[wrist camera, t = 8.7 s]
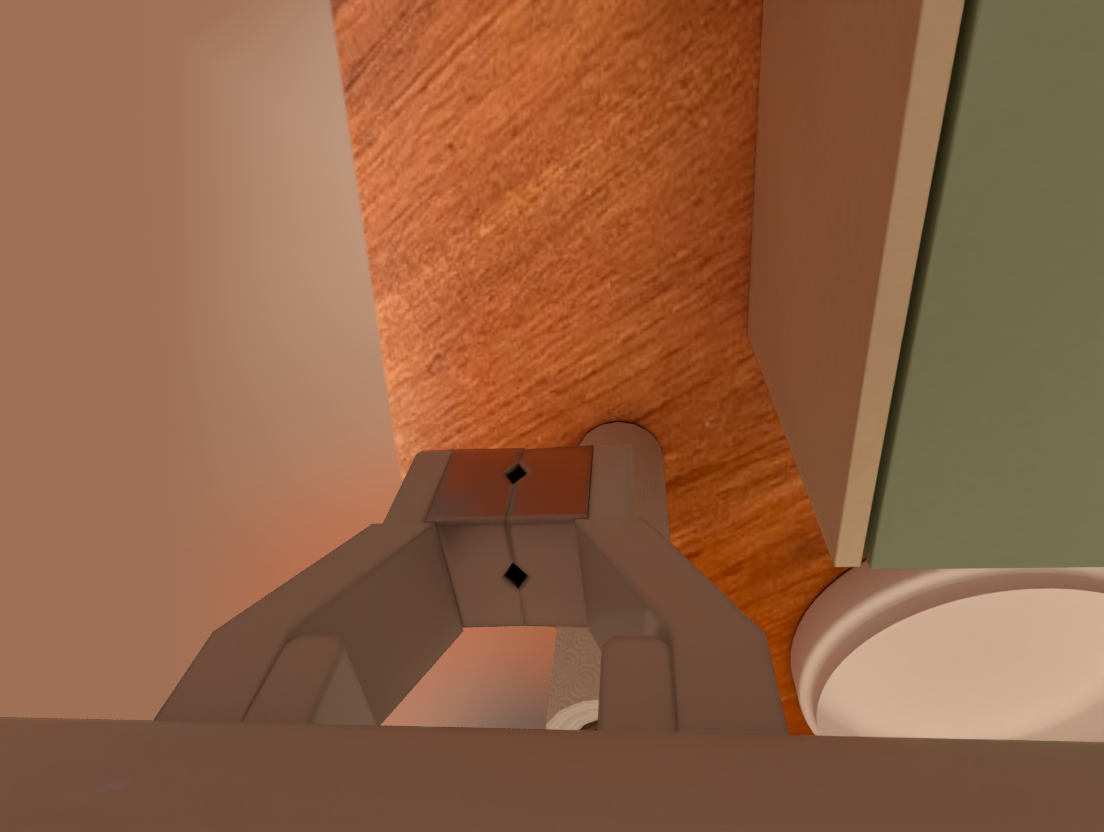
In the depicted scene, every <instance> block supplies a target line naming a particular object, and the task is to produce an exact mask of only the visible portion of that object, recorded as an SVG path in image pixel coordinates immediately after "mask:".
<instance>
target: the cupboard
mask: <svg viewBox="0 0 1104 832" xmlns="http://www.w3.org/2000/svg"><path fill="white" fill-rule="evenodd" d="M863 553H864V556H865V558H866V560H867V562H868V565H869V567H870V569H872V570H880V569H973V568H1067V567H1104V0H965V2H964V8H963V13H962V19H961V24H960V29H959V35H958V40H957V46H956V51H955V56H954V62H953V67H952V73H951V78H950V84H949V89H948V94H947V100H946V105H945V111H944V116H943V122H942V127H941V132H940V138H939V143H938V149H937V154H936V159H935V165H934V170H933V176H932V181H931V187H930V192H929V197H928V203H927V208H926V214H925V219H924V225H923V230H922V235H921V241H920V246H919V252H918V257H917V262H916V268H915V273H914V279H913V284H912V290H911V295H910V300H909V306H908V311H907V317H906V322H905V328H904V333H903V338H902V344H901V349H900V355H899V360H898V365H897V371H896V376H895V382H894V387H893V393H892V398H891V403H890V409H889V414H888V420H887V425H886V431H885V436H884V441H883V447H882V452H881V458H880V463H879V468H878V474H877V479H876V485H875V490H874V496H873V501H872V506H871V512H870V517H869V523H868V528H867V534H866V539H865V544H864V550H863Z"/></svg>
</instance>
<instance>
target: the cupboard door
mask: <svg viewBox="0 0 1104 832" xmlns="http://www.w3.org/2000/svg"><path fill="white" fill-rule="evenodd" d="M964 2H965V0H763V14H762V35H761V56H760V77H759V98H758V118H757V139H756V160H755V181H754V201H753V222H752V243H751V264H750V285H749V305H748V326H747V335H748V338H749V340H750V343H751V346H752V348H753V351H754V354H755V356H756V359H757V362H758V364H759V367H760V370H761V372H762V375H763V378H764V380H765V383H766V386H767V388H768V391H769V394H770V396H771V399H772V402H773V404H774V407H775V410H776V412H777V415H778V418H779V420H780V423H781V426H782V428H783V431H784V433H785V436H786V439H787V441H788V444H789V447H790V449H791V452H792V455H793V457H794V460H795V463H796V465H797V468H798V471H799V473H800V476H801V479H802V481H803V484H804V487H805V489H806V492H807V495H808V497H809V500H810V503H811V505H812V508H813V511H814V513H815V516H816V519H817V521H818V524H819V527H820V529H821V532H822V535H823V537H824V540H825V543H826V545H827V548H828V551H829V553H830V556H831V559H832V561H833V564H834V566H835V567H860V566H861V561H862V555H863V550H864V544H865V539H866V534H867V528H868V523H869V517H870V512H871V506H872V501H873V496H874V490H875V485H876V479H877V474H878V468H879V463H880V458H881V452H882V447H883V441H884V436H885V431H886V425H887V420H888V414H889V409H890V403H891V398H892V393H893V387H894V382H895V376H896V371H897V365H898V360H899V355H900V349H901V344H902V338H903V333H904V328H905V322H906V317H907V311H908V306H909V300H910V295H911V290H912V284H913V279H914V273H915V268H916V262H917V257H918V252H919V246H920V241H921V235H922V230H923V225H924V219H925V214H926V208H927V203H928V197H929V192H930V187H931V181H932V176H933V170H934V165H935V159H936V154H937V149H938V143H939V138H940V132H941V127H942V122H943V116H944V111H945V105H946V100H947V94H948V89H949V84H950V78H951V73H952V67H953V62H954V56H955V51H956V46H957V40H958V35H959V29H960V24H961V19H962V13H963V8H964Z"/></svg>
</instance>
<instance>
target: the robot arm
mask: <svg viewBox="0 0 1104 832" xmlns="http://www.w3.org/2000/svg"><path fill="white" fill-rule="evenodd" d="M525 625H526V626H552V627H588V630H589V632H590V634H591V635H592V637H593V639H594V640H595V642H596V643H597V645H598V647H599V648H600V650H601V670H600V689H599V707H598V725H597V730H555V729H510V728H465V727H421V726H380V725H381V724H382V723H383V722H384V720H385V719H386V718H387V717H388V716H389V715H390V713H392V711H393V710H394V709H395V708H396V707H397V706H398V705H399V703H400V702H401V701H402V700H403V699H404V697H406V695H407V694H408V693H409V692H410V691H411V690H412V689H413V688H414V686H415V685H416V684H417V683H418V682H419V681H420V680H421V678H422V677H423V676H424V675H425V674H426V673H427V672H428V670H429V669H430V668H431V667H432V666H433V665H434V664H435V663H436V661H437V660H438V659H439V658H440V657H441V656H442V655H443V653H444V652H445V651H446V650H447V649H448V648H449V647H450V646H451V644H452V643H453V642H454V641H455V640H456V638H458V636H459V635H460V634H461V633H462V632H463V628H462V627H496V626H497V627H498V626H525ZM0 832H1104V742H1086V741H1041V740H996V739H952V738H907V737H862V736H817V735H789V734H788V729H787V725H786V721H785V716H784V712H783V708H782V703H781V699H780V695H779V690H778V686H777V682H776V677H775V673H774V668H773V664H772V660H771V655H770V651H769V647H768V642H767V638H766V634H765V633H764V632H763V631H762V630H761V629H760V628H759V627H758V626H757V625H756V624H755V623H754V622H753V621H752V620H751V619H750V618H749V617H748V616H746V615H745V614H744V613H743V612H742V611H741V610H740V609H739V608H738V607H737V606H736V605H735V604H734V603H733V602H732V601H731V600H730V599H729V598H728V597H727V596H726V595H725V594H724V593H722V592H721V591H720V590H719V589H718V588H717V587H716V586H715V585H714V584H713V583H712V582H711V581H710V580H709V579H708V578H707V577H706V576H705V575H704V574H703V573H702V572H701V571H699V570H698V569H697V568H696V567H695V566H694V565H693V564H692V563H691V562H690V561H689V560H688V559H687V558H686V557H685V556H684V555H683V554H682V553H681V552H680V551H679V550H678V549H677V548H675V547H674V546H673V545H672V544H671V543H670V542H669V541H668V540H667V539H666V538H665V537H664V536H663V535H662V534H661V533H660V532H659V531H658V530H657V529H656V528H655V527H654V526H652V525H651V524H650V523H649V522H648V521H647V520H646V519H645V518H636V507H635V489H634V471H633V453H632V445H631V443H630V442H622V443H609V444H595V446H593V445H586V446H570V447H553V448H536V449H525V448H506V449H457V450H453V449H449V450H428V451H421V452H420V453H418V454H417V455H416V456H415V458H414V460H413V462H412V464H411V466H410V468H409V470H408V473H407V475H406V477H405V479H404V481H403V483H402V485H401V487H400V489H399V491H398V493H397V496H396V497H395V500H394V502H393V504H392V506H391V508H390V510H389V512H388V514H387V516H386V518H385V520H384V522H383V524H372V525H370V526H369V527H367V528H366V529H364V530H363V531H361V532H360V533H359V534H357V535H355V536H354V537H352V538H351V539H350V540H348V541H347V542H345V543H344V544H342V545H341V546H339V547H338V548H336V549H335V550H333V551H332V552H330V553H329V554H327V555H326V556H325V557H323V558H321V559H320V560H319V561H317V562H315V563H314V564H312V565H311V566H310V567H308V568H307V569H305V570H304V571H302V572H301V573H299V574H298V575H296V576H295V577H293V578H292V579H290V580H289V581H287V582H286V583H284V584H283V585H282V586H280V587H278V588H277V589H275V590H274V591H273V592H271V593H270V594H268V595H267V596H265V597H264V598H262V599H261V600H259V601H258V602H256V603H255V604H253V605H252V606H250V607H249V608H247V609H246V610H244V611H243V612H241V613H240V614H239V615H237V616H236V617H234V618H233V619H231V620H230V621H228V622H227V623H225V624H224V625H222V626H221V627H219V628H218V629H216V630H215V631H213V633H212V634H211V636H210V637H209V639H208V640H207V641H206V643H205V645H204V646H203V647H202V649H201V650H200V652H199V653H198V655H197V656H196V658H195V659H194V661H193V662H192V664H191V665H190V667H189V668H188V670H187V671H186V673H185V674H184V676H183V677H182V679H181V680H180V682H179V683H178V684H177V686H176V687H175V689H174V690H173V692H172V693H171V695H170V697H169V698H168V699H167V701H166V702H165V704H164V705H163V707H162V708H161V710H160V711H159V713H158V714H157V716H156V717H155V719H154V720H153V721H152V720H151V721H150V720H108V719H104V720H103V719H63V718H60V719H59V718H18V717H17V718H16V717H15V718H14V717H0Z"/></svg>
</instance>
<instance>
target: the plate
mask: <svg viewBox="0 0 1104 832" xmlns="http://www.w3.org/2000/svg"><path fill="white" fill-rule="evenodd" d="M791 671H792V675H793V679H794V683H795V687H796V691H797V695H798V699H799V703H800V707H801V711H802V713H803V715H804V718H805V720H806V722H807V724H808V725H809V727H810V728H811V730H812V731H813V733H814V734H815V735H817V736H862V737H907V738H952V739H996V740H1041V741H1086V742H1104V567H1067V568H973V569H880V570H872V569H870V567H869V565H868V562H867V560H865V561H863V562H862V563H861V566H860V567H853V568H852V569H850V570H849V571H848V572H846V573H845V574H843V575H842V576H841V577H839V578H838V579H837V580H835V581H834V582H833V583H832V584H831V585H830V586H828V587H827V588H826V589H825V590H824V591H823V592H822V593H821V594H820V595H819V596H818V597H817V598H816V599H815V601H814V602H813V603H812V605H811V606H810V607H809V608H808V610H807V611H806V613H805V614H804V616H803V618H802V619H801V621H800V623H799V625H798V627H797V630H796V632H795V635H794V638H793V642H792V646H791Z"/></svg>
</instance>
